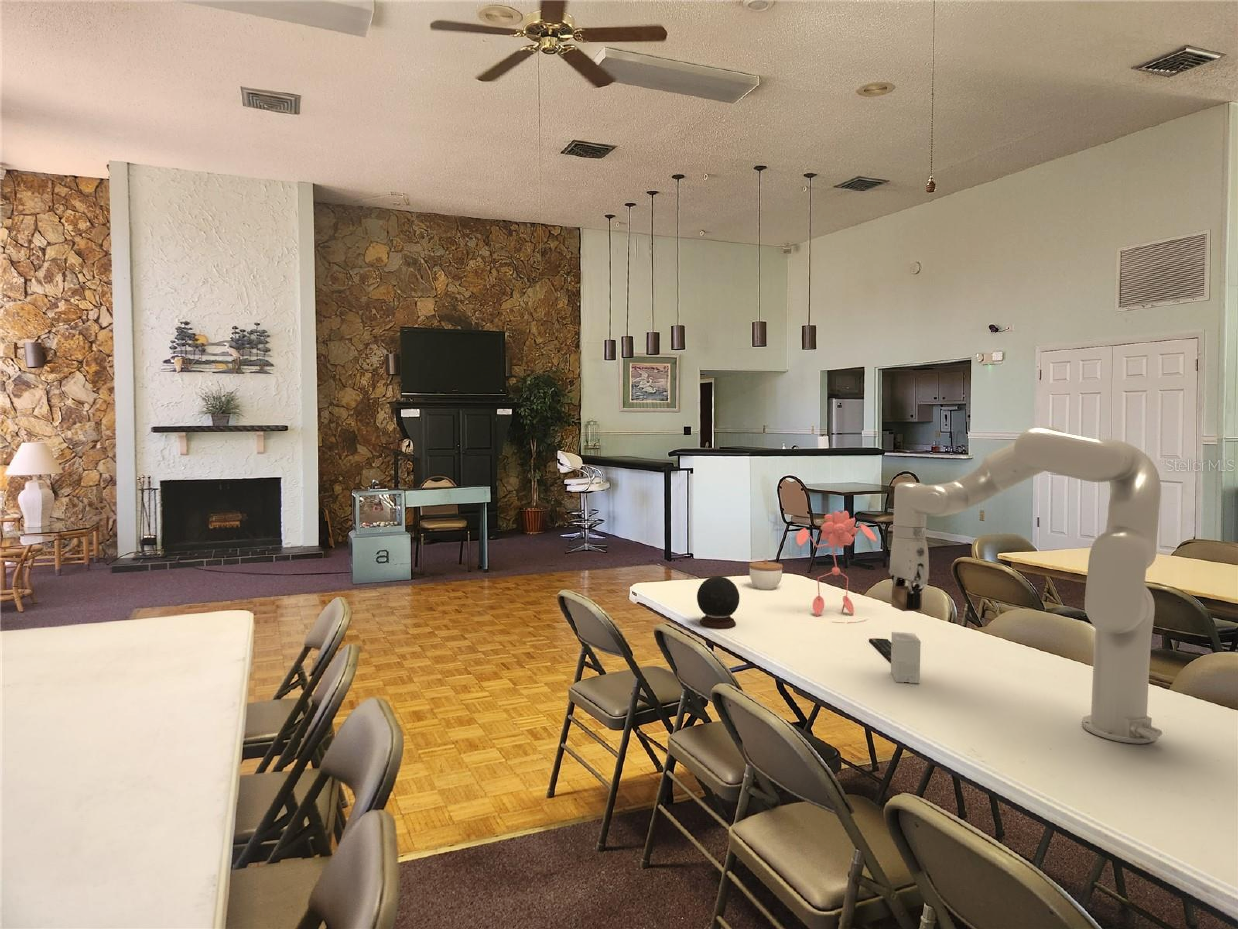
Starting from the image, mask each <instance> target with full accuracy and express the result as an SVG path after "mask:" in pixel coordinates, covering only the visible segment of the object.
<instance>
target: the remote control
mask: <svg viewBox="0 0 1238 929" xmlns="http://www.w3.org/2000/svg"><path fill="white" fill-rule="evenodd" d="M868 642H869V643H870V644H871V645H872V646H873V647H874V648H875V649H876V650H877V651H878V652H879V653H880V654H881V655H882V656H883V657H884V658H885V659H886V660H887V661H888V663H890V664H891V642H892V641H890V640H889V639H887V638H880V637H879V638H876V637H875V638H868Z"/></svg>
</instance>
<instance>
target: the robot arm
mask: <svg viewBox="0 0 1238 929" xmlns="http://www.w3.org/2000/svg"><path fill="white" fill-rule="evenodd" d="M1044 472H1048V473H1052V474H1056V475H1060V476H1065V477H1069V478H1073V479H1078V480H1080V481H1086V482H1091V483H1106V482H1107V483H1109V485H1110V490H1111V491H1110V496H1109V502H1108V508H1107V509H1108V511H1107V512H1108V513H1107V520H1106V528H1105V531H1104V532H1103V533H1101V534H1100V535H1098V536H1097V537H1096V538H1095V540H1094V541H1093V543H1092V545H1091V548H1090V549H1089V555H1088V562H1087V563H1088V564H1087V571H1086V572H1087V574H1086V584H1085V592H1084V593H1085V594H1084V610H1085V614H1086V616H1087V618H1088V620H1089V621H1090V622H1091V624H1092V625H1093V626H1095V631H1094V641H1093V642H1094V646H1093V663H1092V664H1093V665H1092V687H1091V688H1092V689H1091V690H1092V691H1091V706H1090V707H1091V710H1090V714H1089V715H1085V716H1084V717H1082V719H1081V726H1082V727H1083V728H1084V729H1085V730H1086V731H1088V732H1090V733H1091V734H1093V735H1096V736H1098V737H1100V738H1101V737H1102V738H1104V739H1107V740H1111V741H1115V742H1120V743H1121V742H1122V743H1127V744H1136V745H1137V744H1140V745H1141V744H1149V743H1152V742H1156V741H1157V740H1158V739H1159V737H1162V735H1163V731H1162V730H1161V729H1159V728H1157V727H1153V726H1152V721H1153V720H1152V717H1150V716H1149V715H1148V703H1149V702H1148V700H1149V683H1150V681H1149V680H1150V679H1149V678H1150V662H1151V648H1152V647H1151V645H1152V635H1153V628H1154V621H1155V612H1156V611H1155V610H1156V608H1155V607H1156V606H1155V600H1154V597H1153V594H1152V592H1151V591H1150V589H1149V588H1148V587H1147V586H1146V584H1145V582H1146V574H1147V570H1148V569H1149V568H1150V567H1151V566H1152V565H1153V564H1154V562H1155V561H1156V557H1157V542H1158V531H1159V521H1160V520H1159V519H1160V504H1161V493H1162V492H1161V486H1162V485H1161V479H1160V474H1159V472H1158V469H1157V467H1156V465H1155V464H1154V462H1153V461H1152V459H1151V458H1150V456H1148V455H1147V454H1146V453H1145V452H1143V450H1141V449H1139V448H1138V447H1136V446H1134V445H1132V444H1130V443H1128V442H1125V441H1121V440H1119V439H1110V438H1109V439H1108V438H1107V439H1097V438H1093V437H1092V438H1091V437H1086V436H1081V435H1076V434H1071V433H1065V432H1064V431H1062V430H1060V429H1059V428H1056V427H1051V426H1035V427H1030V428H1027V429H1025V430H1024V431H1023V432H1021V433H1020V434H1019V435H1018V437H1017V438H1016V440H1015V441H1014V442H1012V443H1010V444H1008V445H1006V446H1003V447H1002V448H999V449H998V450H996V451H994V452H992V453H990V454H989V455H987V456H985V458H983V460H982V463H981V464H980V465H979V466H978V467H977V468H976V469H974V470H972V471H970V472H969V473H967V474H965V475H963V476H961V477H959V478H956V480H953V481H951V482H947V483H938V484H928V485H926V484H924V483H921V482H908V481H907V482H905V481H904V482H898V483H897V484H896V485H895V486H894V495H893V496H894V499H893V502H894V503H893V504H894V505H893V522H892V523H893V524H892V525H893V527H892V542H891V547H890V557H889V569H888V573H889V575H890V577H891V581H892V586H906V583H907V586H909V593H907V609H909V610H914V609H919V608H920V593H922V594H923V590H924V589H925V587H926V586H927V585H928V584H929V582H928V580H929V575H930V566H929V565H930V562H929V560H930V559H929V556H930V555H929V548H928V542H927V539H926V538H927V536H926V535H927V516H932V517H946V516H949V515H956V514H959V513H962V512H964V511H967V510H969V509H971V508H973V507H975V506H976V505H979V504H981V503H983V502H985V501H987V500H990V499H991V498H993V497H995V496H997V495H999V494H1002V493H1003V492H1005V491H1007V490H1008V489H1009V490H1010V489H1011V488H1012V487H1015V486H1017V485H1019V484H1021V483H1023V482H1026V480H1029V479H1030V478H1032V477H1034V476H1037V475H1039V474H1042V473H1044ZM914 584H915V585H914Z"/></svg>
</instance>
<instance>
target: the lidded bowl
mask: <svg viewBox="0 0 1238 929" xmlns="http://www.w3.org/2000/svg"><path fill="white" fill-rule="evenodd" d="M748 566H749V567H748V568H749V578H750V580H751V583H752V584H753V585H754V586H755V588H756V589H758V590H762V591H773V590H775V589H776V588H777V587H778V586H779V584H780V583H781V581H782V577H783V576H782V575H783V567H784V566H783V564H782V563H778V562H774V561H773V562H772V561H769V560H768V559H767V558H766V559H764V561H753V562H749V564H748Z"/></svg>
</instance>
